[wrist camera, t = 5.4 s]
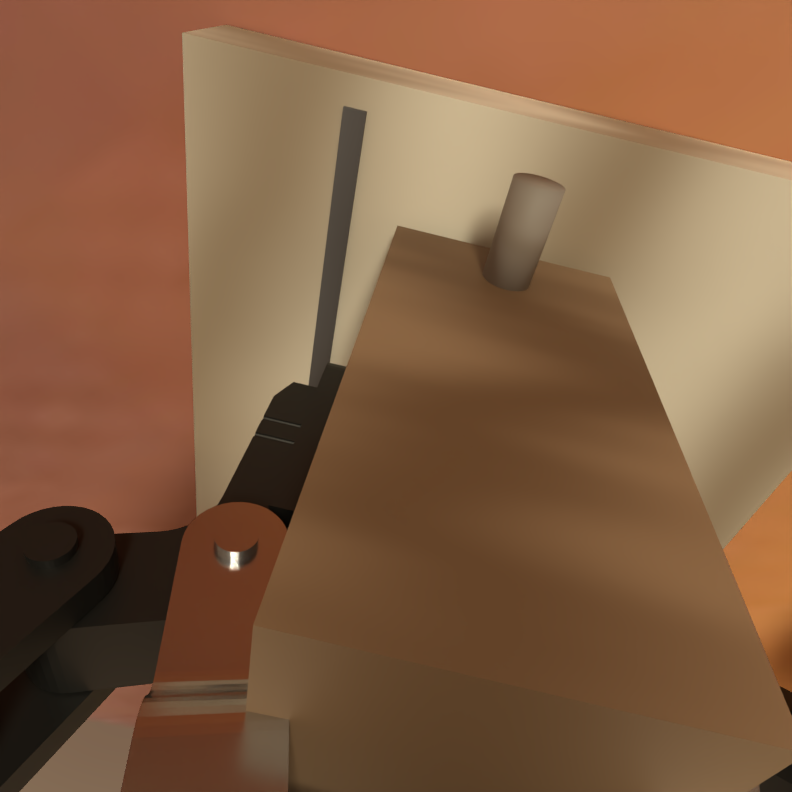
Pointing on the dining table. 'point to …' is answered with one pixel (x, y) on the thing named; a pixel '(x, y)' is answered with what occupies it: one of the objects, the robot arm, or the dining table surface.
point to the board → (472, 241)
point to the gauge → (507, 551)
